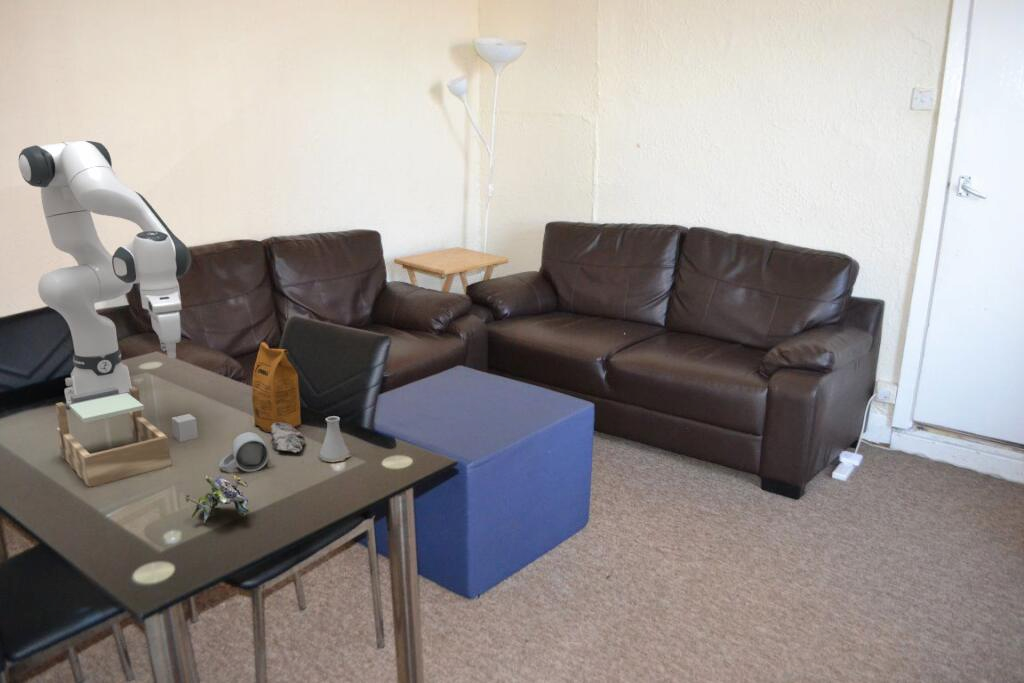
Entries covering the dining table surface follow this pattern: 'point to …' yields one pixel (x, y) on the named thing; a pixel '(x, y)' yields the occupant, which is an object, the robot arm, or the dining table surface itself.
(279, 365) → the coffee package
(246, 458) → the ceramic mug
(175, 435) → the light grey block
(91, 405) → the trapdoor
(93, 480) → the trapdoor frame
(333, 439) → the flask
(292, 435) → the mineral rock
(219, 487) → the passion flower
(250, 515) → the dining table surface
